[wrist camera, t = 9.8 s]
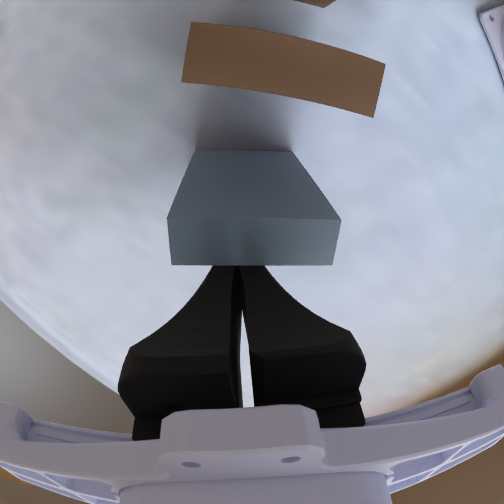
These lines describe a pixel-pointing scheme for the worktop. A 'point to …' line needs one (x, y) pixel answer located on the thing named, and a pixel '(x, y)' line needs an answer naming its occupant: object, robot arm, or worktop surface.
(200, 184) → the placed domino
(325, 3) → the domino
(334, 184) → the worktop surface
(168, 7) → the worktop surface
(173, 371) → the robot arm
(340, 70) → the domino
